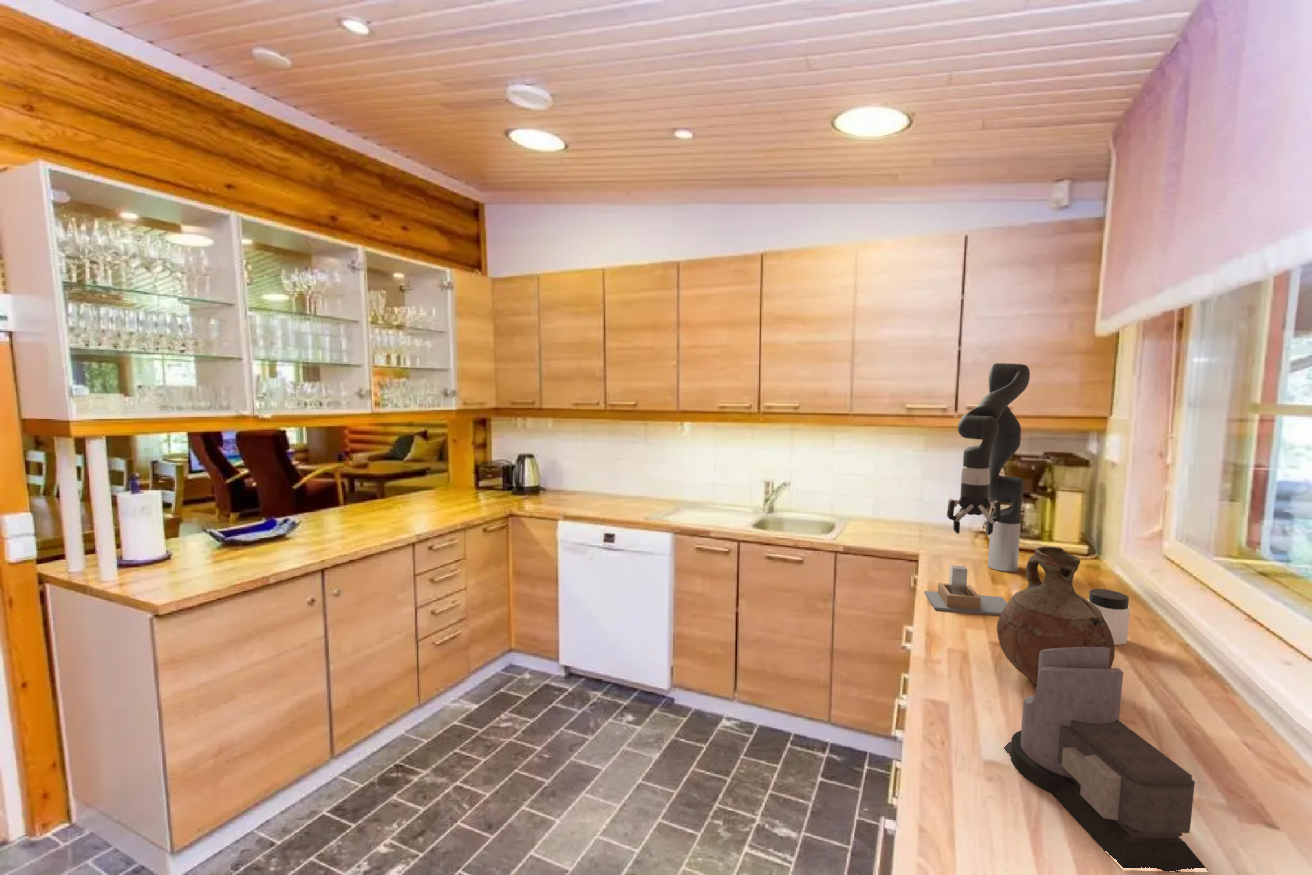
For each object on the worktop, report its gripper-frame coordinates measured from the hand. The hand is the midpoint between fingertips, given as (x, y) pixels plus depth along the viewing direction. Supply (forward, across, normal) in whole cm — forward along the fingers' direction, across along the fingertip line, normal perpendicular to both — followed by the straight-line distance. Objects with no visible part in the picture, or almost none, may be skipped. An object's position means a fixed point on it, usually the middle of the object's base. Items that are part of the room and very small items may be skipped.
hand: (972, 533), depth 178 cm
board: (+20, +2, +6) cm, 21 cm away
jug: (+19, -3, +52) cm, 55 cm away
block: (+19, +5, +6) cm, 21 cm away
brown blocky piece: (+18, +5, +90) cm, 92 cm away
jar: (+20, -27, +22) cm, 40 cm away
